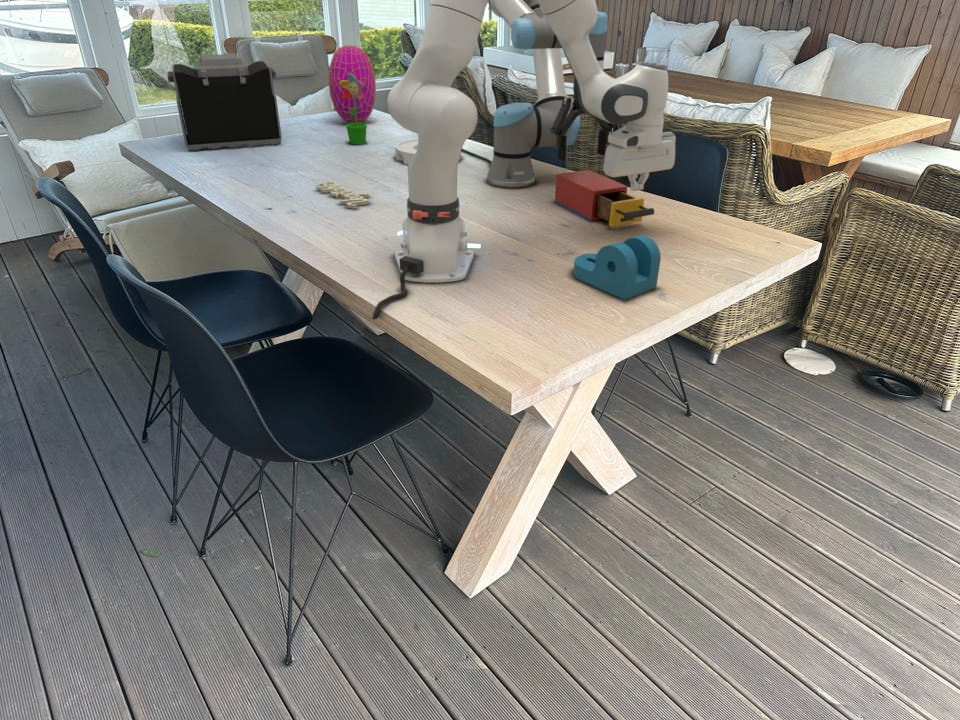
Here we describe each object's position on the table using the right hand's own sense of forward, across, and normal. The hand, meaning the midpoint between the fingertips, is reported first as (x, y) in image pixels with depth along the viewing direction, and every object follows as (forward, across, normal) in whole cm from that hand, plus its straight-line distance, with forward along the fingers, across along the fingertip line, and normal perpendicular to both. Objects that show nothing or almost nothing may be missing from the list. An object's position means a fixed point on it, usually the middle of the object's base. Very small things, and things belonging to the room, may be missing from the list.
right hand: (581, 157), depth 194 cm
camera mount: (+13, +25, +50) cm, 57 cm away
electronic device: (+13, +77, -118) cm, 142 cm away
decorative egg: (+13, +24, -133) cm, 136 cm away
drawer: (+12, 0, +17) cm, 21 cm away
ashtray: (+13, +19, -66) cm, 70 cm away
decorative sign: (+13, +59, -36) cm, 70 cm away
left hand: (+3, 0, +25) cm, 25 cm away
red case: (+13, 0, +6) cm, 15 cm away
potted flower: (+13, +34, -98) cm, 104 cm away
